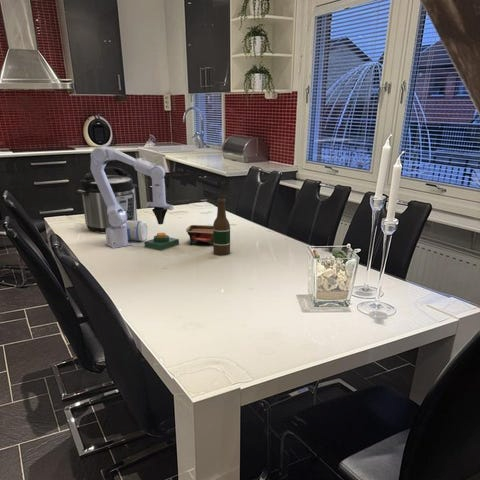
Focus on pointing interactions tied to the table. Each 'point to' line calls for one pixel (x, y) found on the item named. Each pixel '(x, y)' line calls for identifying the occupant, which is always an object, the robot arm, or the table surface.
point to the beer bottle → (221, 230)
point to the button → (161, 235)
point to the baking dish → (200, 233)
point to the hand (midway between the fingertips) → (160, 224)
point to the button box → (161, 243)
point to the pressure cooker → (96, 205)
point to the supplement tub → (136, 230)
